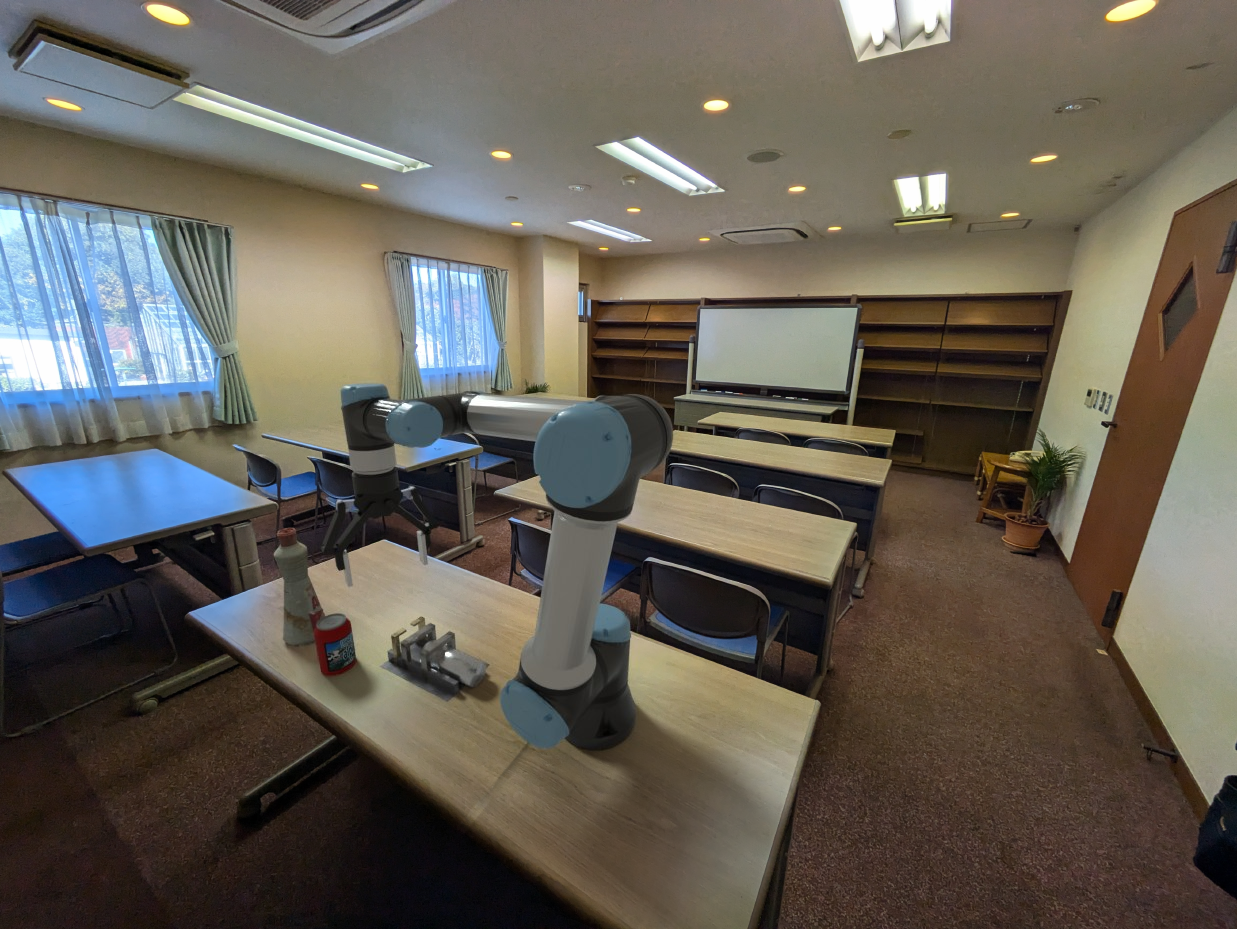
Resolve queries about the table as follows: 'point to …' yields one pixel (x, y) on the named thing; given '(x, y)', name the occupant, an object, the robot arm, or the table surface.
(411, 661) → the grey slotted rack
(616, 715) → the robot arm
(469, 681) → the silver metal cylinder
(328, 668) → the beverage can
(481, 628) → the table surface
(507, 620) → the table surface
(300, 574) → the bottle
